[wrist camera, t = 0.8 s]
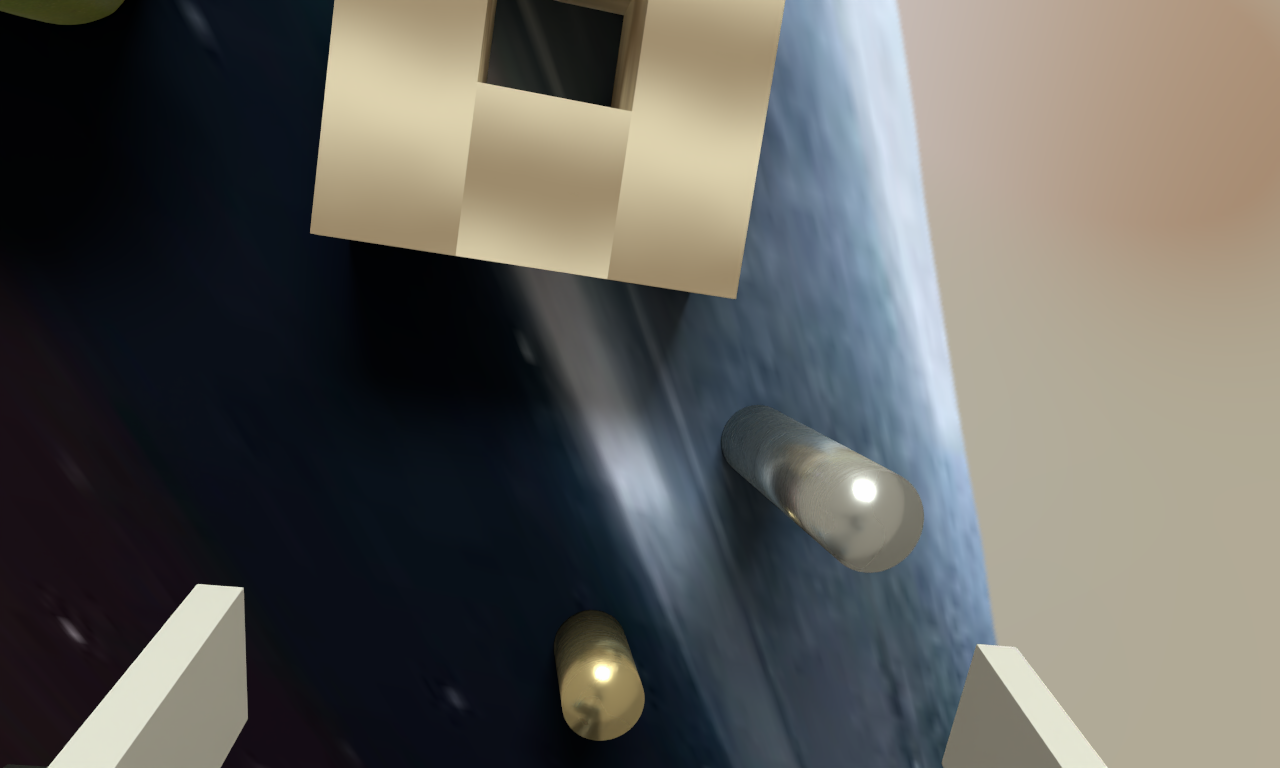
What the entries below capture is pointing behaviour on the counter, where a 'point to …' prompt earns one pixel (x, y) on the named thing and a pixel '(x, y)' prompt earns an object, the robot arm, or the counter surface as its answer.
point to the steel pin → (826, 488)
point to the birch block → (550, 142)
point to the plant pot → (61, 10)
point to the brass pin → (597, 676)
